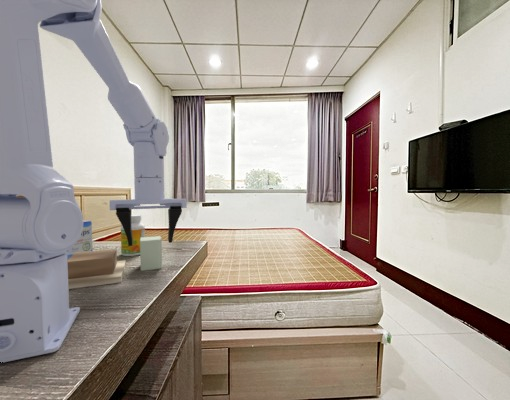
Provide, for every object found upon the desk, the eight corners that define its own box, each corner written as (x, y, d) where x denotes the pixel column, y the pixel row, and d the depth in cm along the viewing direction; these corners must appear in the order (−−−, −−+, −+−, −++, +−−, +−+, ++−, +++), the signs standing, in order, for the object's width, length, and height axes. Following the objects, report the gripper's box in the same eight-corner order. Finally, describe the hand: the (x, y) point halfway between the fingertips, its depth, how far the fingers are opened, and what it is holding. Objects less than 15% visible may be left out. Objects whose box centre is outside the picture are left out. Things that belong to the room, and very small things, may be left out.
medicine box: (62, 265, 54) (61, 225, 54) (46, 264, 55) (44, 224, 54) (93, 255, 62) (92, 220, 61) (78, 254, 63) (77, 220, 62)
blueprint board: (121, 282, 44) (120, 259, 44) (50, 291, 40) (49, 266, 40) (126, 264, 54) (125, 246, 54) (69, 270, 50) (69, 250, 50)
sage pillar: (162, 268, 52) (161, 239, 52) (140, 270, 50) (140, 241, 50) (161, 263, 56) (160, 236, 55) (141, 265, 54) (140, 237, 54)
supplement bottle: (117, 256, 60) (116, 216, 60) (126, 251, 66) (125, 214, 65) (140, 256, 61) (139, 216, 61) (148, 250, 66) (147, 214, 66)
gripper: (183, 179, 59) (184, 237, 59) (112, 178, 53) (113, 242, 54) (187, 178, 52) (188, 243, 53) (107, 177, 47) (109, 250, 47)
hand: (151, 243), depth 53 cm, fingers open, 7 cm apart
